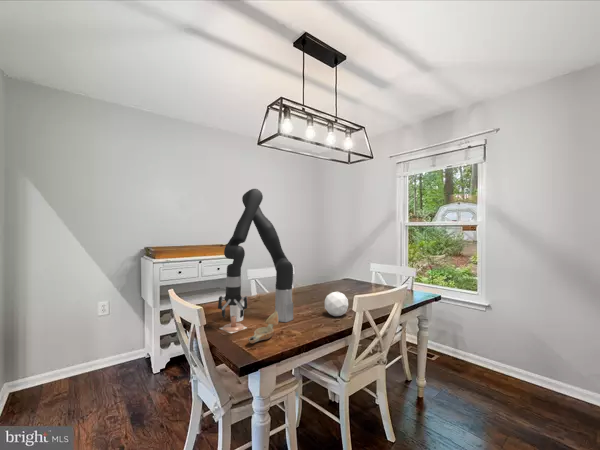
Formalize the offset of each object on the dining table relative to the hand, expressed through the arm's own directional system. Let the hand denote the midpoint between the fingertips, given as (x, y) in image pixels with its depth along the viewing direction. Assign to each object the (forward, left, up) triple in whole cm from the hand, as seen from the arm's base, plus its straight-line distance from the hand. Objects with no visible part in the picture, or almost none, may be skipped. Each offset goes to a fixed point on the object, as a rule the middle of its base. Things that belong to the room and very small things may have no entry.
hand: (232, 317), depth 140 cm
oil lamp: (-21, -2, -6) cm, 22 cm away
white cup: (+8, -9, -6) cm, 14 cm away
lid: (-1, 0, -5) cm, 5 cm away
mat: (-1, 0, -6) cm, 6 cm away
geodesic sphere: (-28, -53, -6) cm, 60 cm away
